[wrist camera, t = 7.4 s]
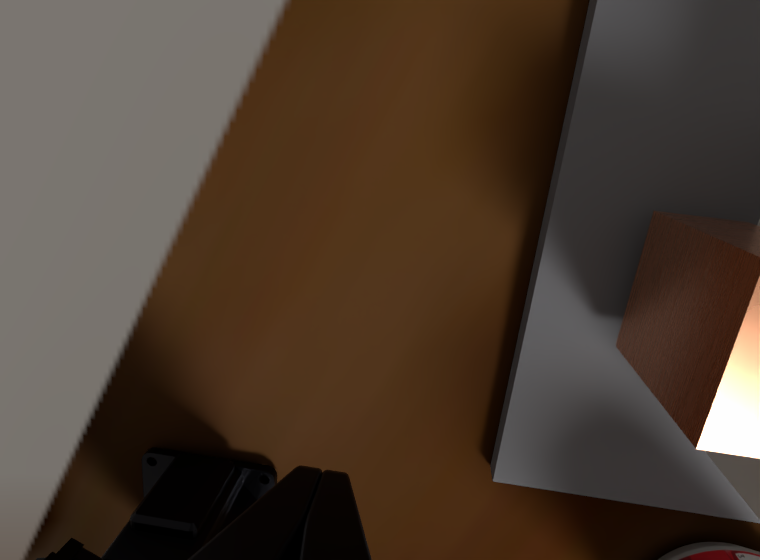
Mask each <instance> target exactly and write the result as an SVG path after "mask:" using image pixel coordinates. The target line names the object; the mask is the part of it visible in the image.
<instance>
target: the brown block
mask: <svg viewBox="0 0 760 560" xmlns="http://www.w3.org/2000/svg"><path fill="white" fill-rule="evenodd" d="M615 346H616V347H617V349H618V350H619V351H620V352H621V354H622V355H623V356H624V358H625V359H626V360H627V361H628V363H629V364H630V365H631V366H632V368H633V369H634V370H635V372H636V373H637V374H638V375H639V377H640V378H641V379H642V381H643V382H644V383H645V384H646V386H647V387H648V388H649V389H650V391H651V392H652V393H653V395H654V396H655V397H656V398H657V400H658V401H659V402H660V404H661V405H662V406H663V407H664V409H665V410H666V411H667V412H668V414H669V415H670V416H671V418H672V419H673V420H674V421H675V423H676V424H677V425H678V427H679V428H680V429H681V430H682V432H683V433H684V434H685V435H686V437H687V438H688V439H689V441H690V442H691V443H692V444H693V446H694V447H695V448H696V449H699V450H706V451H713V452H719V453H726V454H733V455H740V456H746V457H753V458H760V226H757V225H754V224H752V223H749V222H743V221H735V220H727V219H718V218H710V217H702V216H694V215H685V214H677V213H669V212H661V211H653V215H652V218H651V222H650V225H649V229H648V232H647V236H646V239H645V243H644V247H643V250H642V254H641V257H640V261H639V264H638V268H637V271H636V275H635V278H634V282H633V285H632V289H631V292H630V296H629V299H628V303H627V307H626V310H625V314H624V317H623V321H622V324H621V328H620V331H619V335H618V338H617V342H616V345H615Z"/></svg>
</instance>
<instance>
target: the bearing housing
mask: <svg viewBox="0 0 760 560" xmlns="http://www.w3.org/2000/svg"><path fill="white" fill-rule="evenodd" d="M653 211H661V212H669V213H677V214H685V215H694V216H702V217H710V218H718V219H727V220H735V221H743V222H749V223H752V224H754V225H757V226H760V0H590V1H589V6H588V11H587V15H586V20H585V25H584V29H583V34H582V39H581V43H580V48H579V53H578V57H577V62H576V67H575V71H574V76H573V81H572V86H571V90H570V95H569V100H568V104H567V109H566V114H565V118H564V123H563V128H562V132H561V137H560V142H559V146H558V151H557V156H556V161H555V165H554V170H553V175H552V179H551V184H550V189H549V193H548V198H547V203H546V207H545V212H544V217H543V222H542V226H541V231H540V236H539V240H538V245H537V250H536V254H535V259H534V264H533V268H532V273H531V278H530V282H529V287H528V292H527V297H526V301H525V306H524V311H523V315H522V320H521V325H520V329H519V334H518V339H517V343H516V348H515V353H514V357H513V362H512V367H511V372H510V376H509V381H508V386H507V390H506V395H505V400H504V404H503V409H502V414H501V418H500V423H499V428H498V432H497V437H496V442H495V447H494V451H493V456H492V461H491V465H490V467H491V473H492V480H493V481H494V482H501V483H507V484H513V485H520V486H526V487H532V488H539V489H545V490H551V491H558V492H564V493H571V494H577V495H583V496H590V497H596V498H602V499H609V500H615V501H621V502H628V503H634V504H640V505H647V506H653V507H659V508H666V509H672V510H678V511H685V512H691V513H698V514H704V515H710V516H717V517H723V518H729V519H736V520H742V521H748V522H755V523H760V458H753V457H746V456H740V455H733V454H726V453H719V452H713V451H706V450H699V449H696V448H695V447H694V446H693V444H692V443H691V442H690V441H689V439H688V438H687V437H686V435H685V434H684V433H683V432H682V430H681V429H680V428H679V427H678V425H677V424H676V423H675V421H674V420H673V419H672V418H671V416H670V415H669V414H668V412H667V411H666V410H665V409H664V407H663V406H662V405H661V404H660V402H659V401H658V400H657V398H656V397H655V396H654V395H653V393H652V392H651V391H650V389H649V388H648V387H647V386H646V384H645V383H644V382H643V381H642V379H641V378H640V377H639V375H638V374H637V373H636V372H635V370H634V369H633V368H632V366H631V365H630V364H629V363H628V361H627V360H626V359H625V358H624V356H623V355H622V354H621V352H620V351H619V350H618V349H617V347H616V346H615V345H616V342H617V338H618V335H619V331H620V328H621V324H622V321H623V317H624V314H625V310H626V307H627V303H628V299H629V296H630V292H631V289H632V285H633V282H634V278H635V275H636V271H637V268H638V264H639V261H640V257H641V254H642V250H643V247H644V243H645V239H646V236H647V232H648V229H649V225H650V222H651V218H652V215H653Z"/></svg>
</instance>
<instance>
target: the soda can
mask: <svg viewBox="0 0 760 560" xmlns="http://www.w3.org/2000/svg"><path fill="white" fill-rule="evenodd" d="M658 560H760V552H758V551H755V550H752V549H749V548H745V547H742V546H739V545H735V544H731V543H724V542H700V543H694V544H689V545H686V546H682V547H680V548H677V549H675V550H673V551H671V552H669V553H667V554H665V555H664V556H662V557H661V558H659V559H658Z"/></svg>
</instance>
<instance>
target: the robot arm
mask: <svg viewBox="0 0 760 560" xmlns="http://www.w3.org/2000/svg"><path fill="white" fill-rule="evenodd" d="M153 458H155V459H156V460H154V459H153ZM142 474H143V492H144V499H143V500H142V502H141V503H140V504H139V506H138V507H137V508H136V510H135V511H134V512H133V514H132V515H131V517H130V520H129V522H128V523H127V524H126V525H125V527H124V528H123V529H122V531H121V532H120V533H119V535H118V536H117V537H116V539H115V540H114V541H113V543H112V544H111V545H110V547H109V548H108V549H107V551H106V552H105V553H104V555H103V556H102V557H101V558H100V557H98V556H97V555H95V554H93V553H92V552H90V551H88V550H86V549H85V548H83V546H84V544H82V543H80V542H78V541H77V540H75V539H73V538H71V539H70V540H69V541H68V542H67V543H66V544H65V545H64V546H63V547H62V548H61V549H60V550H59V551H58V552H57V553H56V554H55V553H54V552H51V553H50V554H49V555H48V556H47V557H46V558H37V559H36V560H371V556H370V552H369V549H368V545H367V541H366V538H365V534H364V530H363V527H362V523H361V519H360V515H359V512H358V508H357V504H356V501H355V497H354V493H353V490H352V486H351V482H350V479H349V476H348V474H347V473H344V472H338V471H332V470H325V471H324V472H323V473H322V470H321V469H319V468H314V467H308V466H298V467H296V468H295V469H293V470H292V471H291V472H290V473H289V474H288V475H286V476H285V477H284V478H283V479H282V480H280V481H279V482H278V483H277V472H276V471H275V469H273V468H272V467H270V466H267V465H261V464H255V463H248V462H242V461H236V460H230V459H223V458H217V457H211V456H205V455H198V454H192V453H186V452H180V451H173V450H167V449H161V448H150V449H149V450H148V451H147V452H146V453H145V454H144V455H143V457H142ZM263 475H265V476H267V477H268V478H269V479H267V478H264V477H263Z"/></svg>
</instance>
